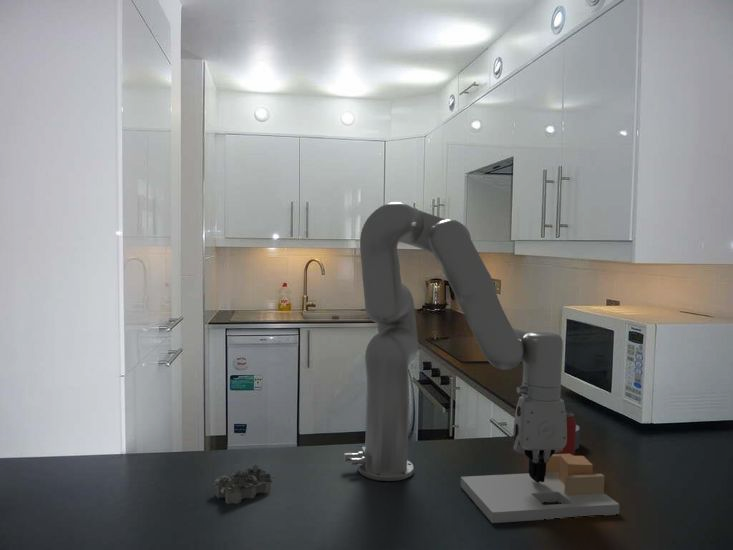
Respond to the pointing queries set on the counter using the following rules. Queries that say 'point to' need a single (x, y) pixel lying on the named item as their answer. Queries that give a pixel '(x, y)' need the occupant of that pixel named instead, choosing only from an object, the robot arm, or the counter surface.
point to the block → (573, 466)
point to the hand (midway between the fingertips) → (536, 479)
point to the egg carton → (243, 484)
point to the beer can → (570, 435)
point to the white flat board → (539, 495)
